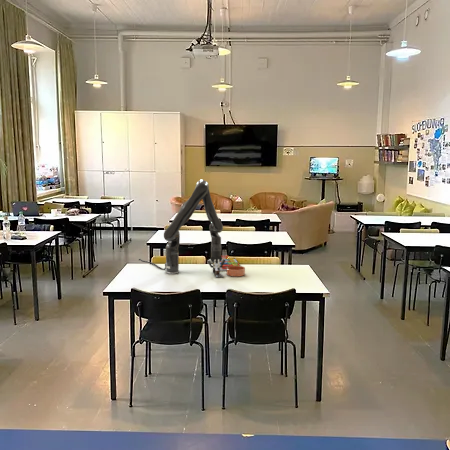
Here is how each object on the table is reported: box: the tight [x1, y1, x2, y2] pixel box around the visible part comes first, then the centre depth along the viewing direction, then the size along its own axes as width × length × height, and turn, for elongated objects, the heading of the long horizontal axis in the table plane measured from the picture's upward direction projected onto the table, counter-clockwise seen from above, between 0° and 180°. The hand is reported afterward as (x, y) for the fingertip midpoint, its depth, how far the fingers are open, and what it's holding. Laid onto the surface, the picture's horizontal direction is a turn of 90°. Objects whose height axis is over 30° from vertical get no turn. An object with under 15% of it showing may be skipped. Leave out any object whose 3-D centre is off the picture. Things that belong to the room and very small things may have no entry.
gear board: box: [215, 255, 241, 272], centre depth 358 cm, size 45×2×19 cm
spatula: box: [213, 267, 225, 279], centre depth 324 cm, size 17×5×3 cm, turn 13°
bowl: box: [226, 265, 246, 278], centre depth 325 cm, size 13×13×5 cm
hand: (216, 272), depth 329 cm, fingers closed on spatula, 2 cm apart
